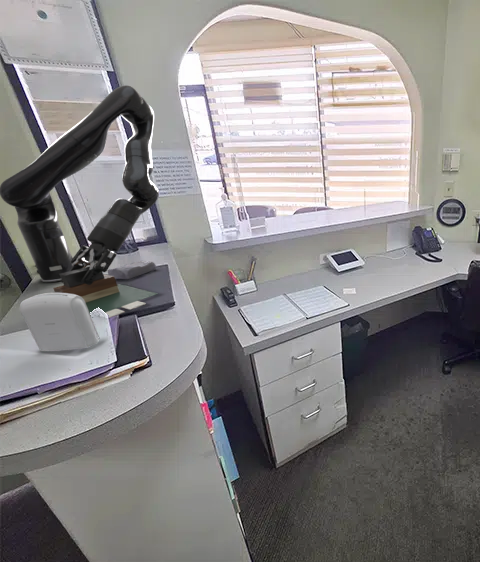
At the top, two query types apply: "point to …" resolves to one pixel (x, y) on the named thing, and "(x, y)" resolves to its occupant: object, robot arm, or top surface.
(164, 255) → the top surface
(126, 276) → the stone block
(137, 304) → the chalk smudge
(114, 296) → the chalkboard
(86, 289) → the eraser
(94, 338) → the photo printer
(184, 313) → the top surface
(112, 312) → the chalk smudge
